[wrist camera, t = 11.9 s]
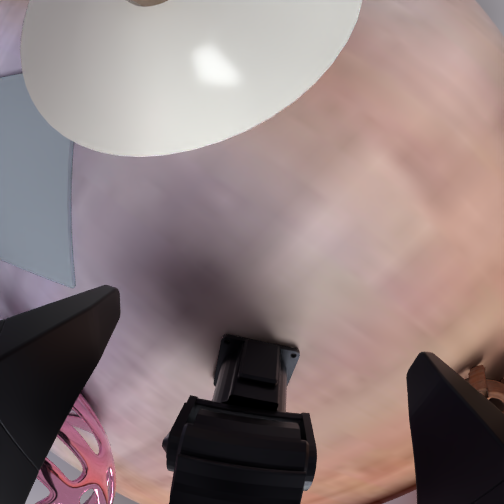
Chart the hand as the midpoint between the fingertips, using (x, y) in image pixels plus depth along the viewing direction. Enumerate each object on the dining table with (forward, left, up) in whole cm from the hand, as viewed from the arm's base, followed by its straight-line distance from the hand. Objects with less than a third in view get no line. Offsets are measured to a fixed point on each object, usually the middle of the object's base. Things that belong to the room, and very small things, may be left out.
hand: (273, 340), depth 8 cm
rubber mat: (-1, +26, -13) cm, 29 cm away
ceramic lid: (+12, +8, -7) cm, 16 cm away
